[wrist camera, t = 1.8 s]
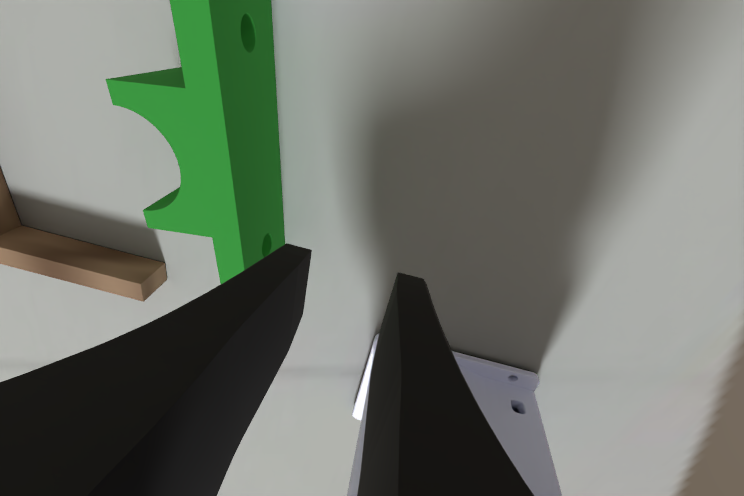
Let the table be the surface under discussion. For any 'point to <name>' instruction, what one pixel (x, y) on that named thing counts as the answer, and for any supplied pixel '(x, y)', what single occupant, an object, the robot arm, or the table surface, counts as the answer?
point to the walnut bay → (74, 257)
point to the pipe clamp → (218, 129)
